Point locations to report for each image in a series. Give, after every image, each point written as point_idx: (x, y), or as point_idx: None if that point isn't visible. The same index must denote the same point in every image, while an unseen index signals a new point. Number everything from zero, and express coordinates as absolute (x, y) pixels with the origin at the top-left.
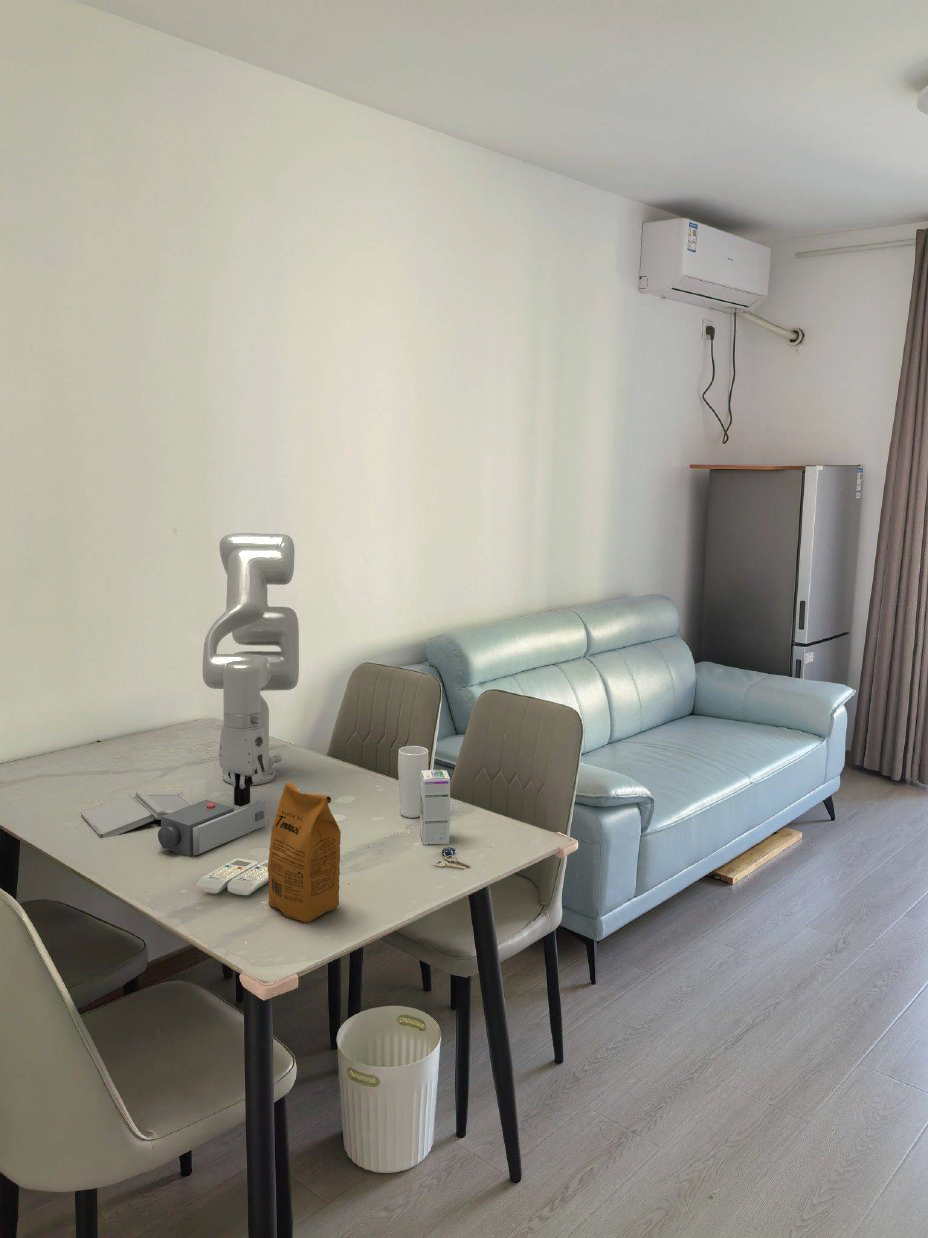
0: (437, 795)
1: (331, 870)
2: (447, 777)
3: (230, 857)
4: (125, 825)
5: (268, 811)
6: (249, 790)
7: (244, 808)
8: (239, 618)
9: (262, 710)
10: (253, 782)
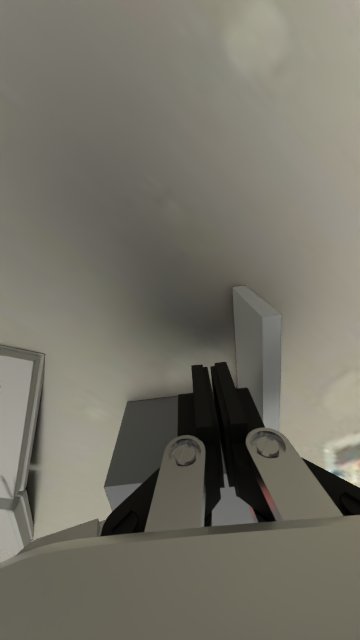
0: None
1: None
2: None
3: (311, 451)
4: (21, 535)
5: (129, 166)
6: (262, 425)
7: (274, 426)
8: None
9: None
10: (324, 471)
